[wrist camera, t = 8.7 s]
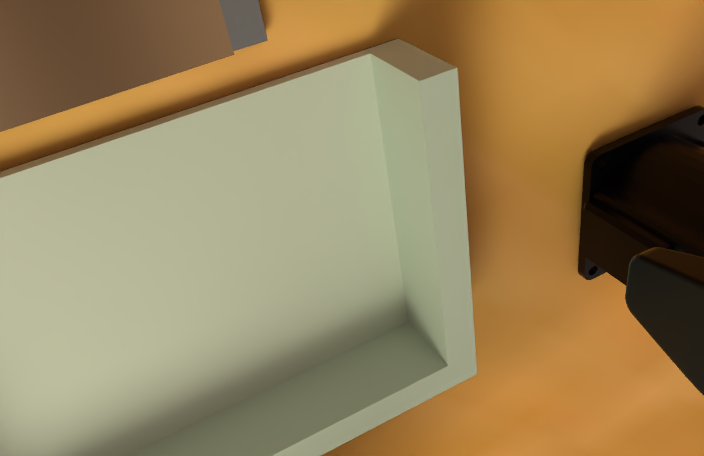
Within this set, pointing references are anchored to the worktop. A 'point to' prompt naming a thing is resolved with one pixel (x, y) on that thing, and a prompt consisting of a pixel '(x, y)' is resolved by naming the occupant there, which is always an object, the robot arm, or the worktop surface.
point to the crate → (242, 270)
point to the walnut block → (98, 49)
